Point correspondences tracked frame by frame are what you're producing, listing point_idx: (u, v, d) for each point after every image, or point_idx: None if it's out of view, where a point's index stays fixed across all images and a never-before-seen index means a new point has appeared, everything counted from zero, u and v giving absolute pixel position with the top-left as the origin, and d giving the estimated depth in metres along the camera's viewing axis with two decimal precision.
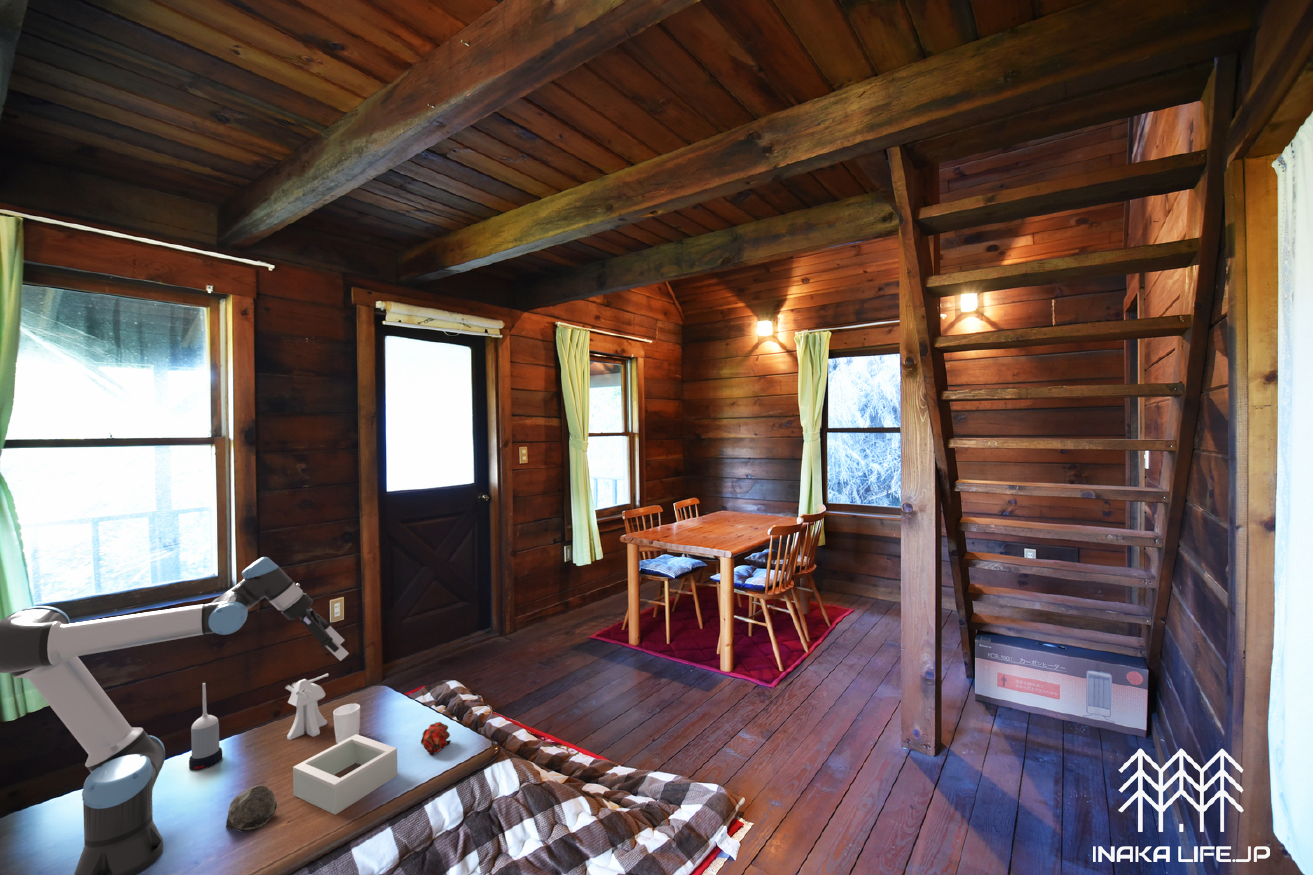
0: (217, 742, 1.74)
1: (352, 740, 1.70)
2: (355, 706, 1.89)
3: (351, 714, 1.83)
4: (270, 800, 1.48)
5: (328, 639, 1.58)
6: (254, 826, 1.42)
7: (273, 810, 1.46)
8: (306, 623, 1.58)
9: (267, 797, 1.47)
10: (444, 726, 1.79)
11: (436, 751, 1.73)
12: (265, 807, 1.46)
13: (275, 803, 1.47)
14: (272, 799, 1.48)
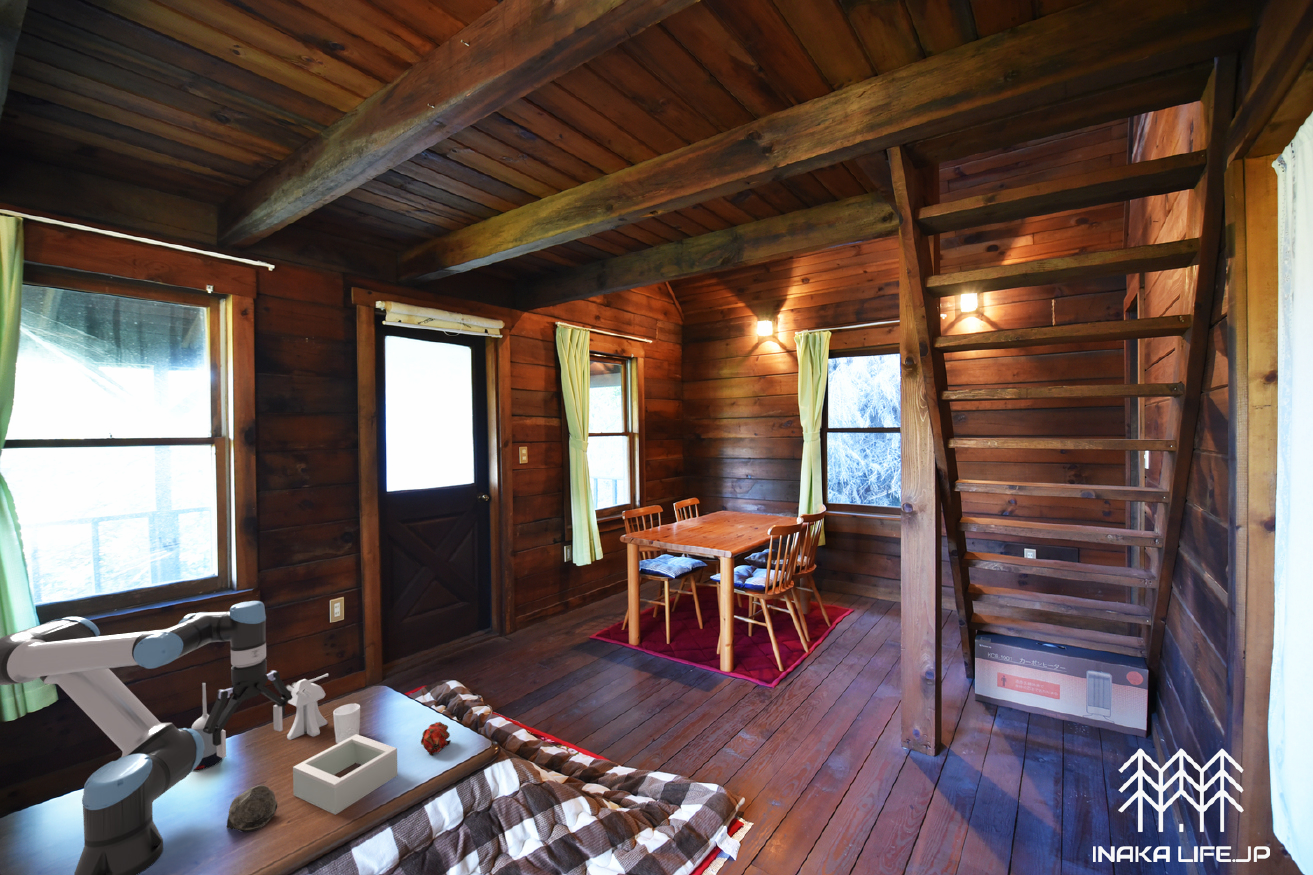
0: None
1: (352, 740, 1.70)
2: (355, 706, 1.89)
3: (351, 714, 1.83)
4: (271, 800, 1.47)
5: (207, 730, 1.36)
6: (254, 826, 1.42)
7: (274, 810, 1.46)
8: (218, 696, 1.39)
9: (268, 798, 1.47)
10: (444, 726, 1.79)
11: (436, 751, 1.73)
12: (266, 807, 1.45)
13: (276, 803, 1.47)
14: (273, 799, 1.48)
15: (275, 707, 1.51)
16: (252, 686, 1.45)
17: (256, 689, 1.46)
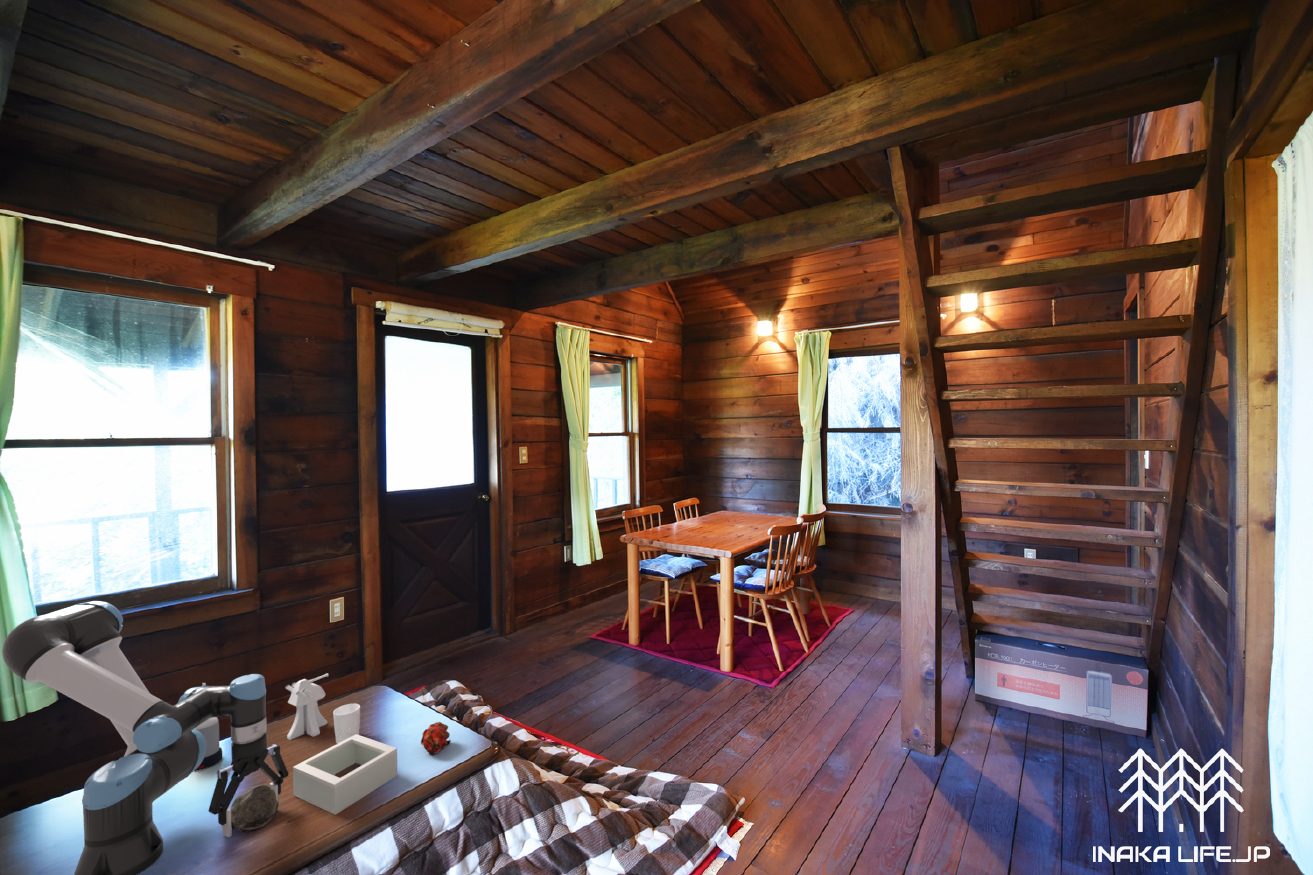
0: (217, 742, 1.74)
1: (352, 740, 1.70)
2: (355, 706, 1.89)
3: (351, 714, 1.83)
4: (272, 800, 1.47)
5: (212, 811, 1.37)
6: (255, 826, 1.41)
7: (275, 810, 1.46)
8: (218, 776, 1.39)
9: (269, 797, 1.47)
10: (444, 726, 1.79)
11: (436, 751, 1.73)
12: (267, 807, 1.45)
13: (277, 803, 1.47)
14: (274, 799, 1.48)
15: (271, 785, 1.50)
16: (252, 761, 1.44)
17: (255, 764, 1.45)
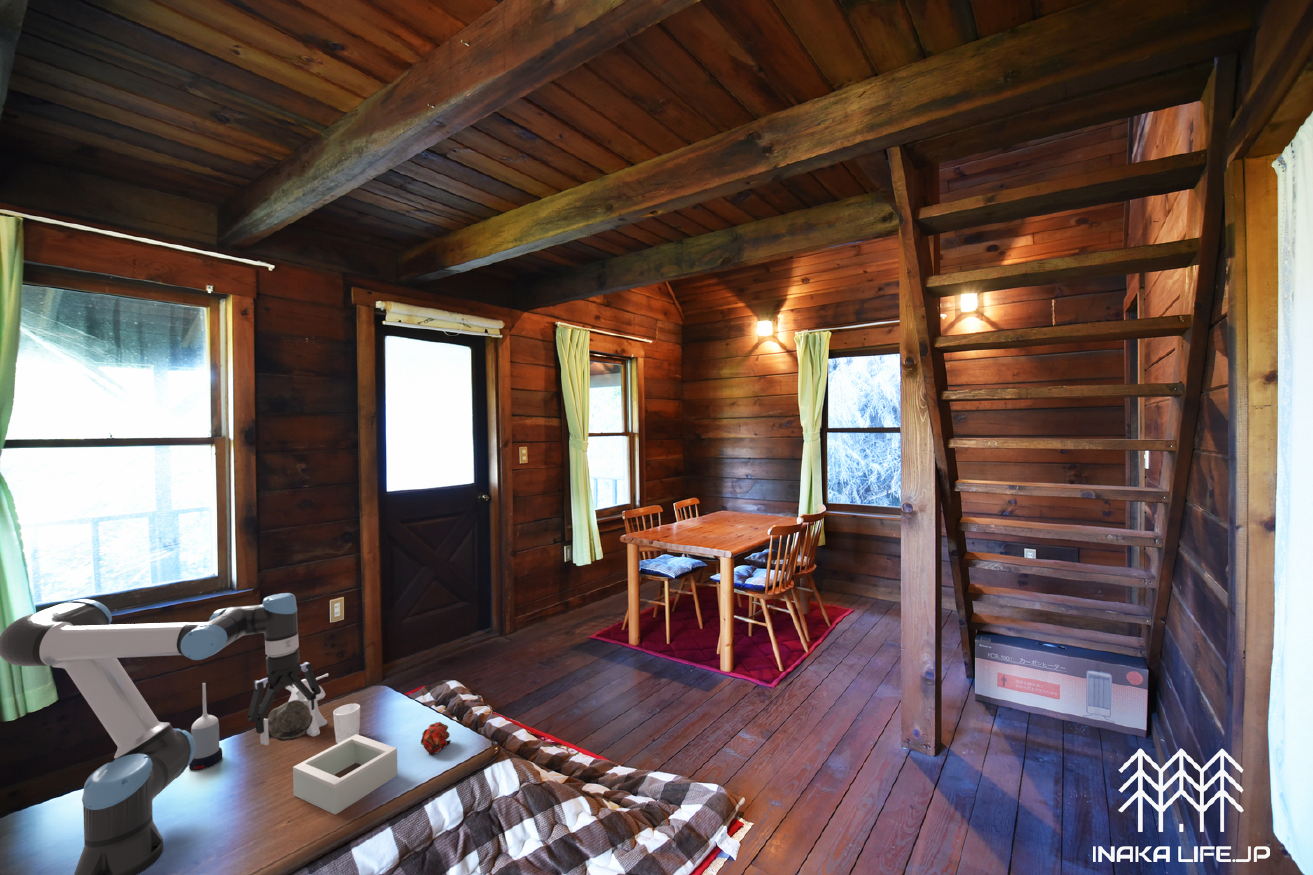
0: (217, 742, 1.74)
1: (352, 740, 1.70)
2: (355, 706, 1.89)
3: (351, 714, 1.83)
4: (306, 714, 1.52)
5: (250, 719, 1.42)
6: (291, 736, 1.46)
7: (309, 723, 1.51)
8: (255, 687, 1.44)
9: (303, 711, 1.52)
10: (444, 726, 1.79)
11: (436, 751, 1.73)
12: (301, 720, 1.50)
13: (311, 717, 1.52)
14: (308, 713, 1.53)
15: (305, 701, 1.55)
16: (286, 675, 1.49)
17: (289, 678, 1.50)
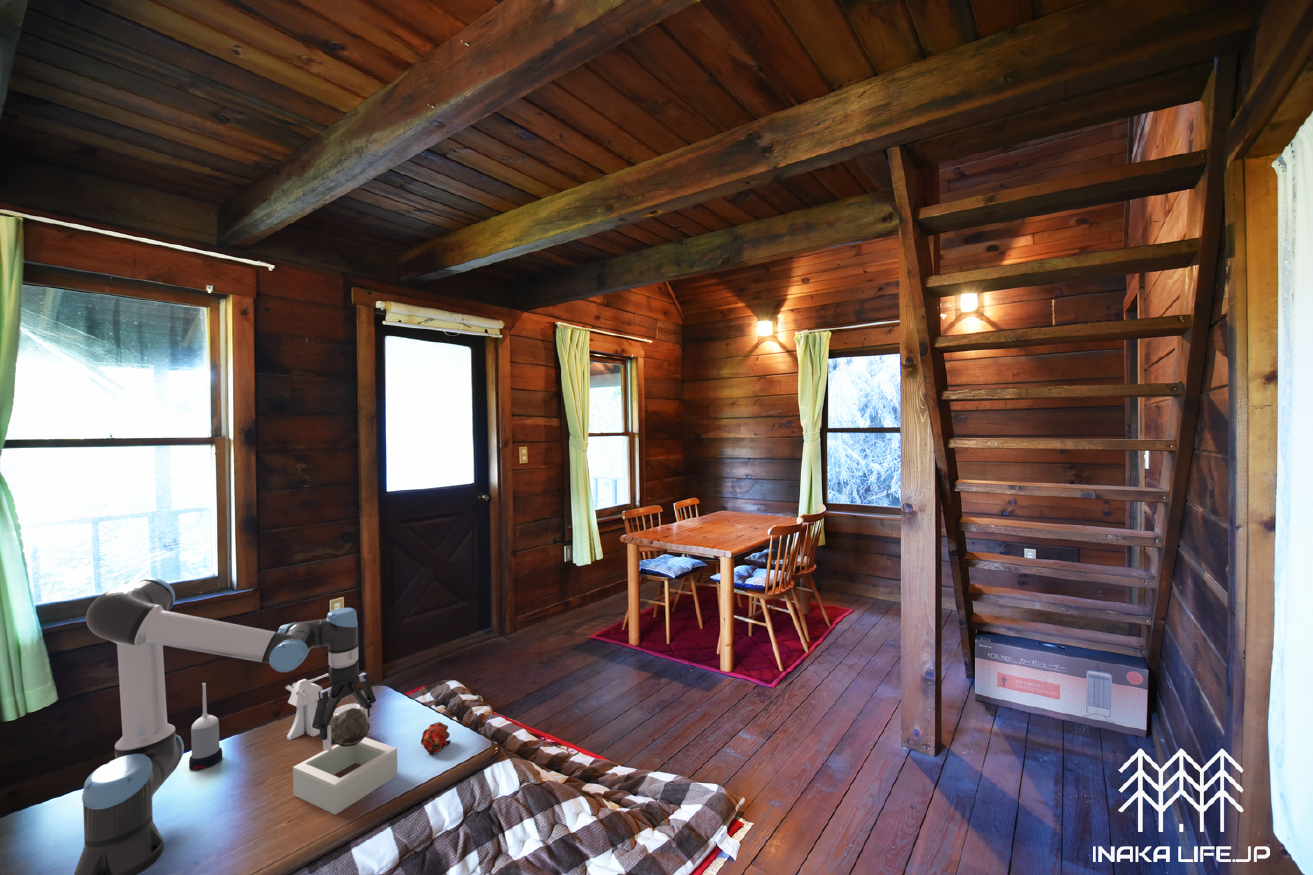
0: (217, 742, 1.74)
1: None
2: (355, 706, 1.89)
3: None
4: (364, 721, 1.62)
5: (316, 726, 1.52)
6: (352, 742, 1.56)
7: (367, 730, 1.61)
8: (320, 696, 1.54)
9: (361, 719, 1.62)
10: (444, 726, 1.79)
11: (436, 751, 1.73)
12: (360, 727, 1.60)
13: (368, 724, 1.62)
14: (365, 721, 1.63)
15: (361, 709, 1.65)
16: (347, 685, 1.59)
17: (350, 688, 1.60)
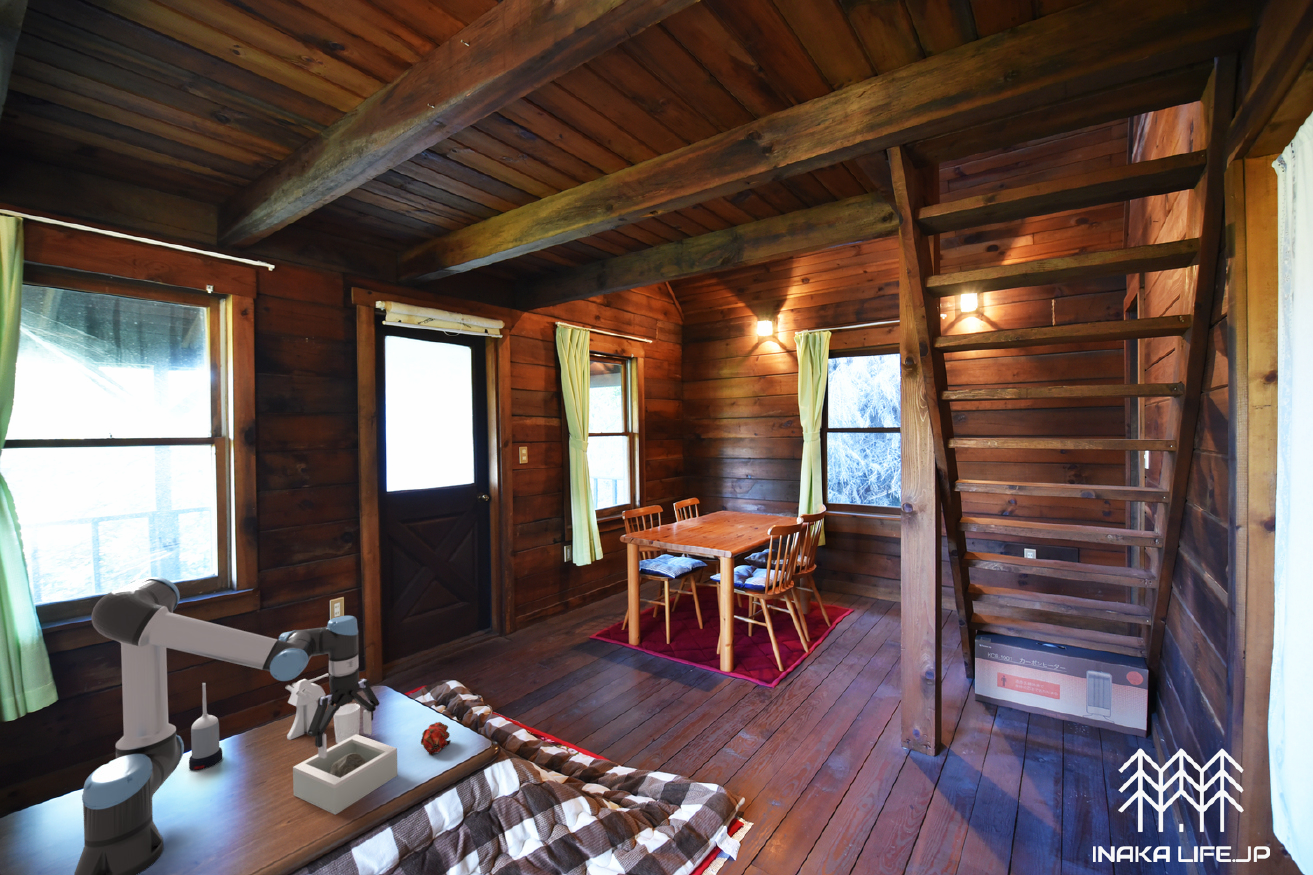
0: (217, 742, 1.74)
1: (352, 740, 1.70)
2: (355, 706, 1.89)
3: (351, 714, 1.83)
4: None
5: (311, 733, 1.51)
6: None
7: None
8: (319, 702, 1.54)
9: (361, 764, 1.62)
10: (444, 726, 1.79)
11: (436, 751, 1.73)
12: None
13: None
14: None
15: (365, 712, 1.66)
16: (347, 693, 1.59)
17: (350, 696, 1.60)
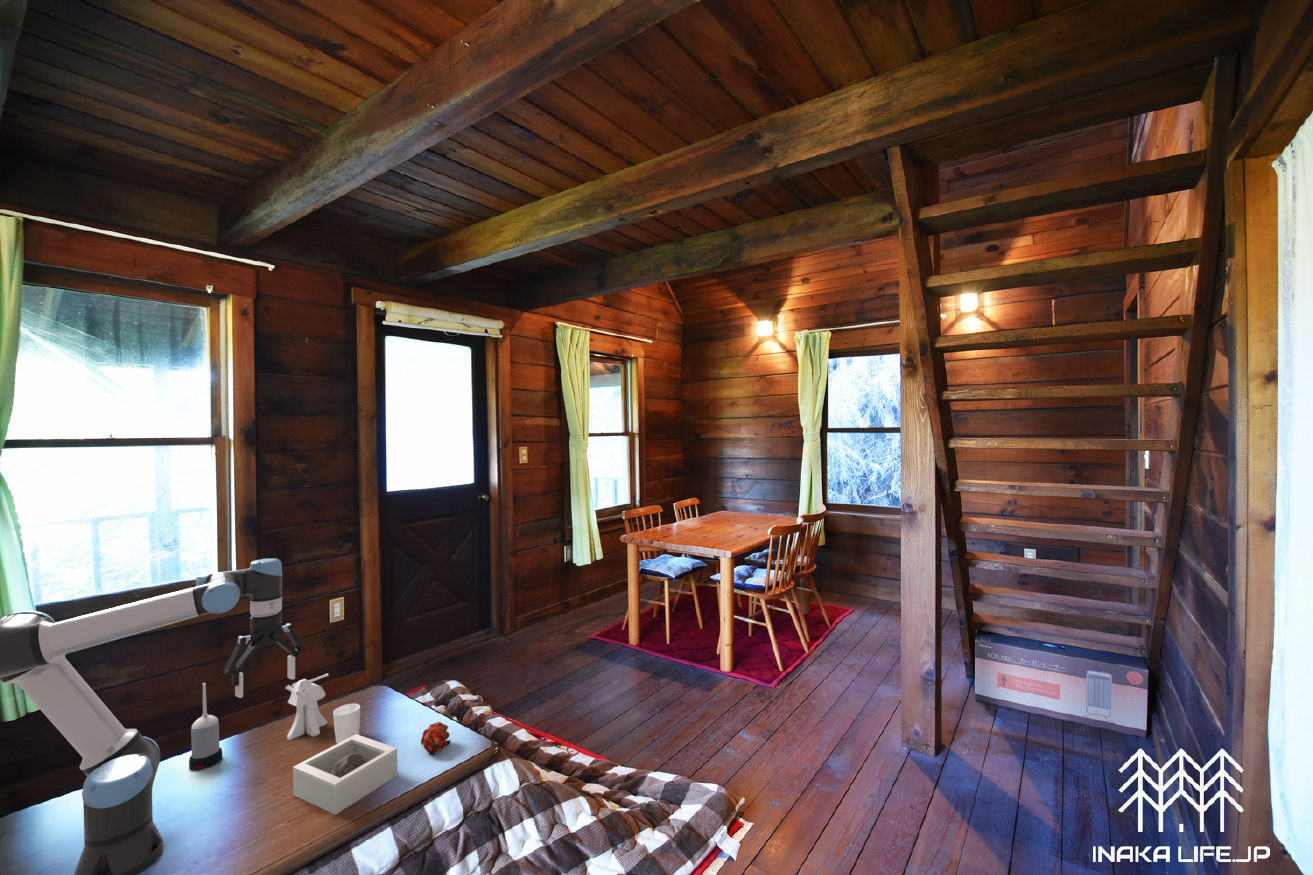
0: (217, 742, 1.74)
1: (352, 740, 1.70)
2: (355, 706, 1.89)
3: (351, 714, 1.83)
4: None
5: (227, 671, 1.50)
6: None
7: None
8: (237, 641, 1.54)
9: (362, 764, 1.62)
10: (444, 726, 1.79)
11: (436, 751, 1.73)
12: None
13: None
14: None
15: (289, 657, 1.65)
16: (268, 635, 1.59)
17: (272, 638, 1.60)
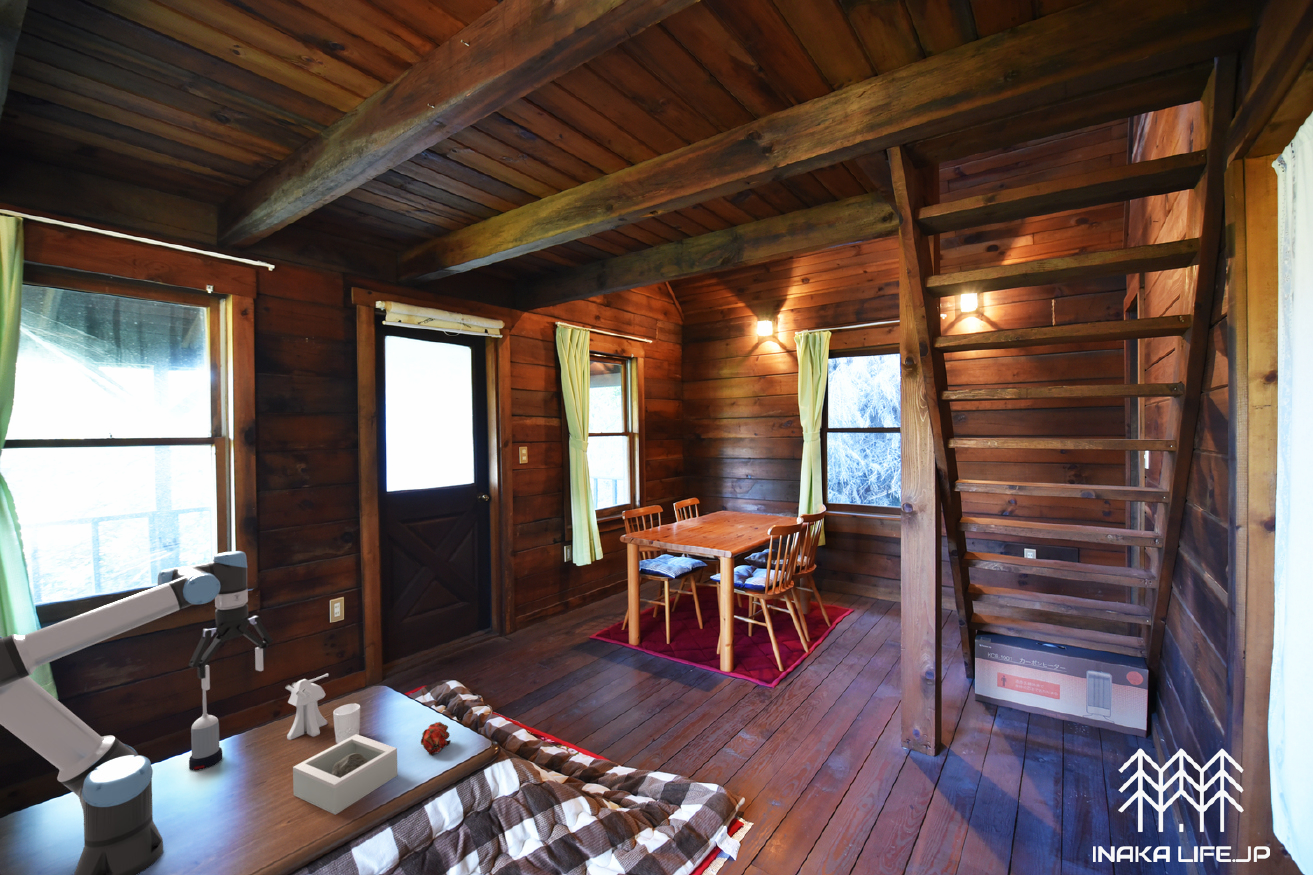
0: (217, 742, 1.74)
1: (352, 740, 1.70)
2: (355, 706, 1.89)
3: (351, 714, 1.83)
4: None
5: (192, 664, 1.50)
6: None
7: None
8: (203, 634, 1.54)
9: (363, 764, 1.62)
10: (444, 726, 1.79)
11: (436, 751, 1.73)
12: None
13: None
14: None
15: (257, 649, 1.65)
16: (234, 628, 1.59)
17: (238, 631, 1.60)
